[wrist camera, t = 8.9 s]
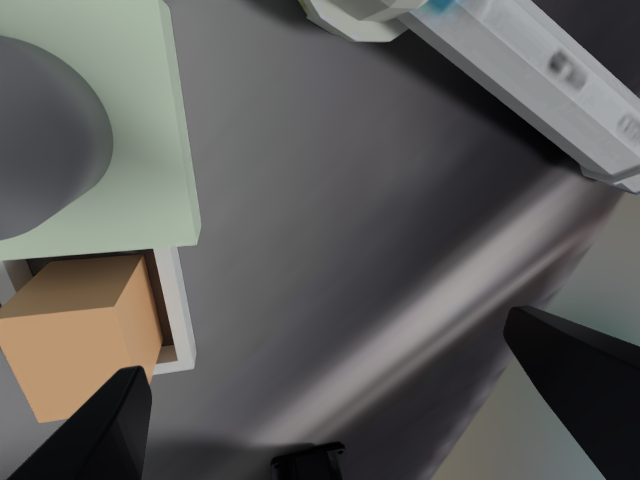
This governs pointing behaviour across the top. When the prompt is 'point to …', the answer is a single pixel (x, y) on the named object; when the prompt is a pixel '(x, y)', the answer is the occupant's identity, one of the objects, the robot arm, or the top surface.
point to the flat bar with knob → (514, 71)
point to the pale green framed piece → (95, 145)
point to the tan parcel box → (79, 330)
